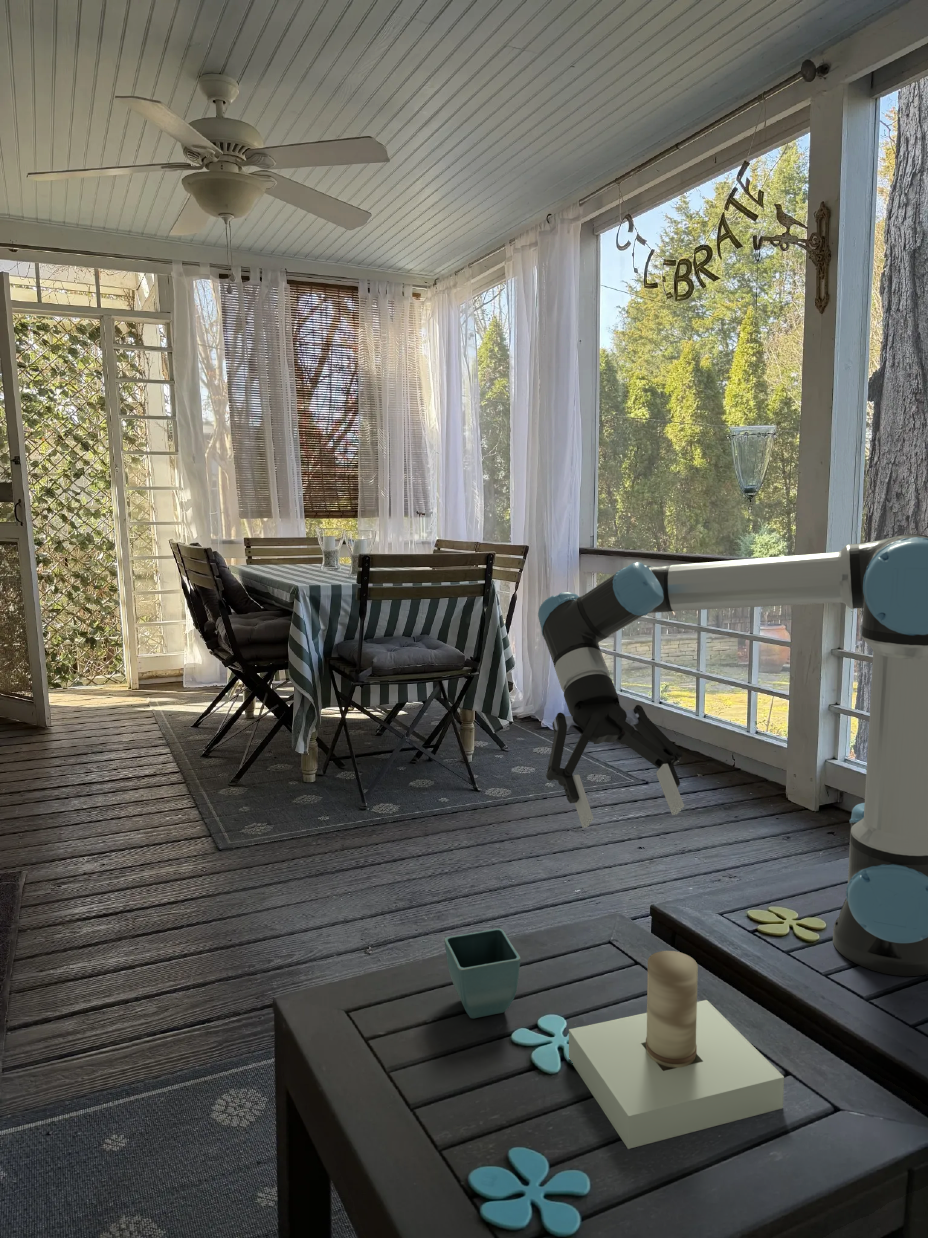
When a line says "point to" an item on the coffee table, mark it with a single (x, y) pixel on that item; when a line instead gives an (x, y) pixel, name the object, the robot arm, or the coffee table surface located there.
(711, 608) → the robot arm
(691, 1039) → the tan wooden cylinder
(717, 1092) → the sage board
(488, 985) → the flower pot
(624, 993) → the coffee table surface
